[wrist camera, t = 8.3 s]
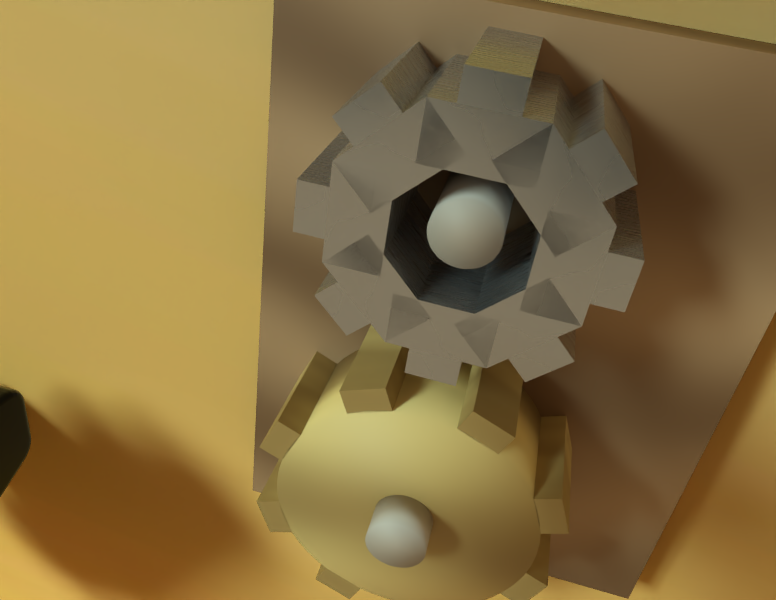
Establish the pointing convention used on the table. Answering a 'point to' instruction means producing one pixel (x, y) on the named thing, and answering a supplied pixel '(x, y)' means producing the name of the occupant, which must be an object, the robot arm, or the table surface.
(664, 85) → the gear board
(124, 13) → the table surface
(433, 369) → the loose gear
